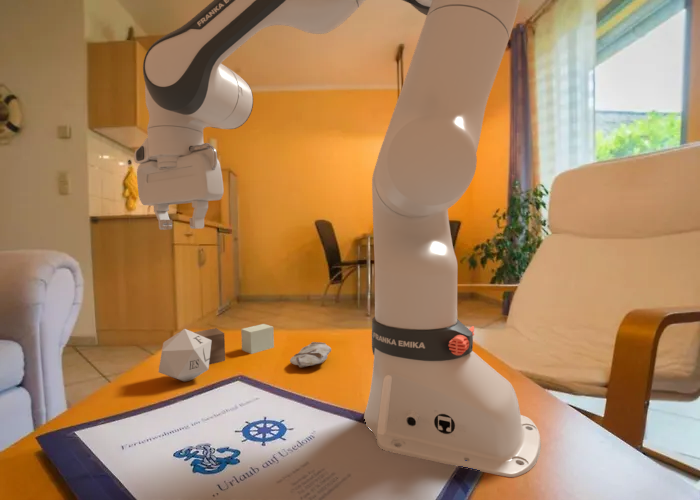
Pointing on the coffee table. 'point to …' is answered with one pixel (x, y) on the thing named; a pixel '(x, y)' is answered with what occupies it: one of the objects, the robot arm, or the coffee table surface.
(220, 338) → the walnut block
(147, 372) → the coffee table surface
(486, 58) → the robot arm
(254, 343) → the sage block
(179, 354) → the die
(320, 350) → the stone
